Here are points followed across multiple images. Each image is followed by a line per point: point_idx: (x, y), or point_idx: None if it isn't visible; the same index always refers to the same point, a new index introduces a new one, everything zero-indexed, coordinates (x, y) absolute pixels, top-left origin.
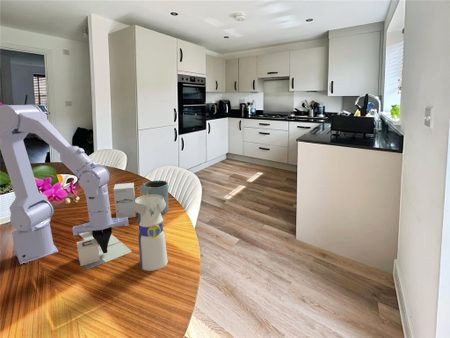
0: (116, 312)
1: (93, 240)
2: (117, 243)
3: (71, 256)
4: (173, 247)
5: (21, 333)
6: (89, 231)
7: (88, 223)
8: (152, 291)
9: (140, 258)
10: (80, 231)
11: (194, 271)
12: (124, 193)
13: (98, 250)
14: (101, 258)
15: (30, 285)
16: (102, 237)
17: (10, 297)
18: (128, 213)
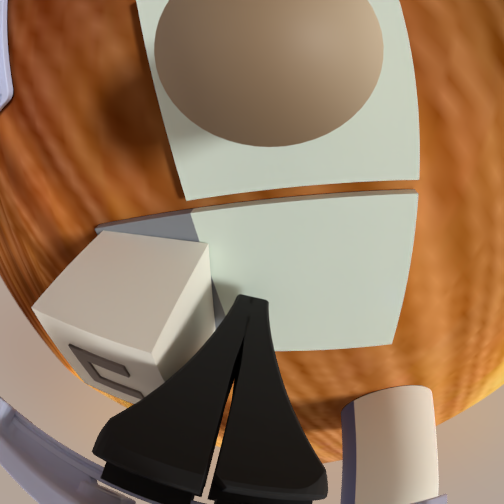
0: None
1: (143, 378)
2: (385, 197)
3: (66, 169)
4: (492, 366)
5: (96, 390)
6: (95, 465)
7: (42, 495)
8: (313, 444)
9: (343, 446)
10: (34, 440)
11: None
12: None
13: None
14: (224, 316)
15: (28, 288)
16: (211, 459)
17: (20, 303)
18: None
